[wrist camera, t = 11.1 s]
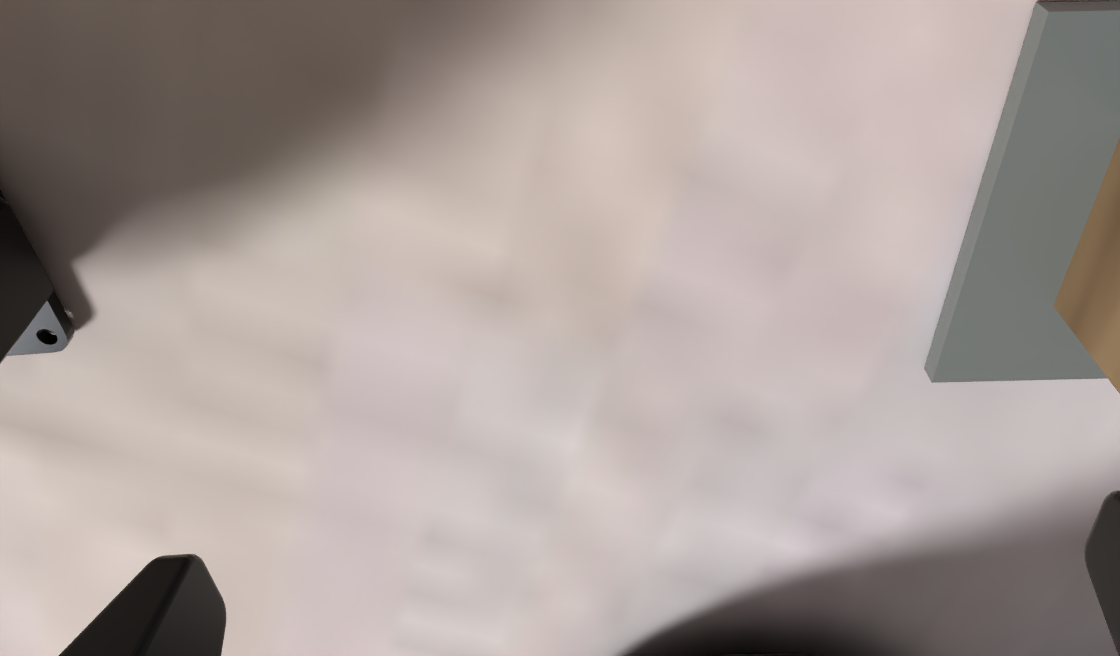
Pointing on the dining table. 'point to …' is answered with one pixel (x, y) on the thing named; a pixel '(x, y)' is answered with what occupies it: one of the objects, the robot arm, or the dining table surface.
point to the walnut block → (1097, 278)
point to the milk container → (773, 655)
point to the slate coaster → (1035, 204)
